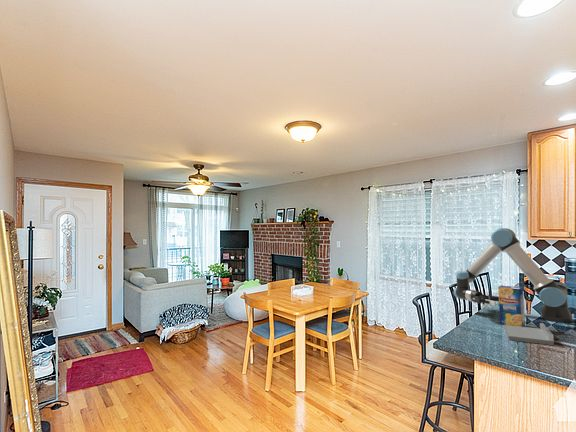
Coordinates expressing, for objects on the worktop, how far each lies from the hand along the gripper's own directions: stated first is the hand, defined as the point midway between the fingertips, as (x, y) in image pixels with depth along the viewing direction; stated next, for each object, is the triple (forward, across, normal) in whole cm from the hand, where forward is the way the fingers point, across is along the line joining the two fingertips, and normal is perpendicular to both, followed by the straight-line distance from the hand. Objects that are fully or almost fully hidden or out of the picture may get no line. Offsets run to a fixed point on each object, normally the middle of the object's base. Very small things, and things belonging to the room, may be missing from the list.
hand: (503, 302), depth 194 cm
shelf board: (+23, +13, -12) cm, 29 cm away
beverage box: (+4, 0, -12) cm, 13 cm away
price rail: (+29, +7, -10) cm, 31 cm away
